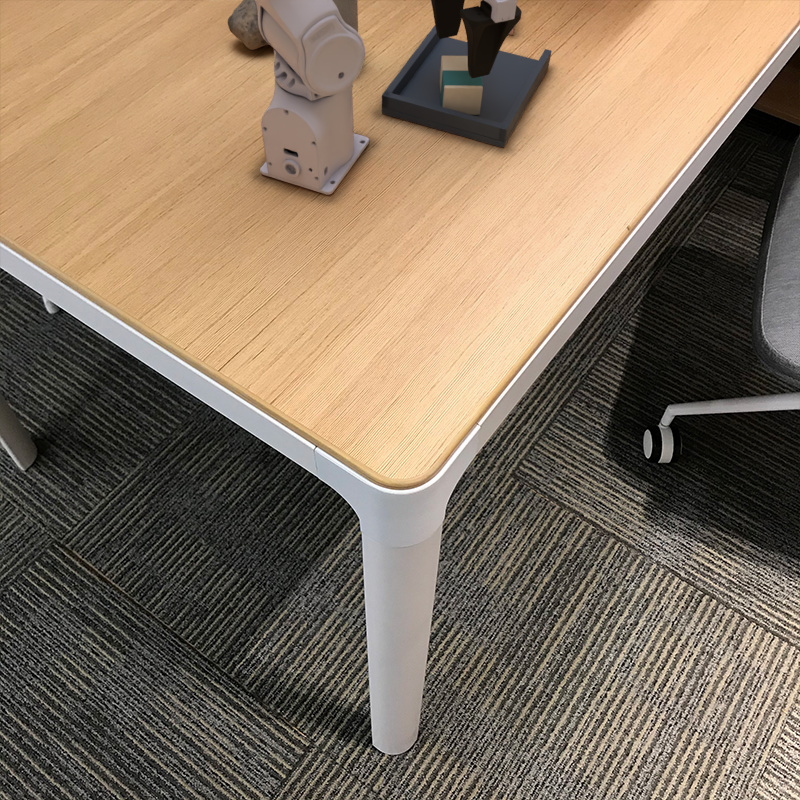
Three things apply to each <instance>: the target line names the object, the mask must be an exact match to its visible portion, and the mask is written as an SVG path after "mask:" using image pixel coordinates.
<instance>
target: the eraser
mask: <svg viewBox="0 0 800 800" xmlns="http://www.w3.org/2000/svg"><path fill="white" fill-rule="evenodd" d="M482 91H483V82H482V76H481V77H477V78H471V76H470V75H469V72H468V56H442V57H441V70H440V92H441V97H440V98H441V107H444V108H448V109H451V110H455V111H458V112H462V113H466V114H469V115H479V114H480V107H481V99H482Z"/></svg>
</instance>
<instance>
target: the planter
mask: <svg viewBox="0 0 800 800" xmlns="http://www.w3.org/2000/svg"><path fill="white" fill-rule="evenodd" d="M333 2H334V3H335V5H336V6H337V8H338V11H339V13H340V15H341V17H342V19H343V21H344V22H345V23H346V24H348V25H349V26H351V27H352V28H353V29H355V30H356V31H357V32H358V33H359V12H358V11H359V8H358V6H359V5H358V0H333Z"/></svg>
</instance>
